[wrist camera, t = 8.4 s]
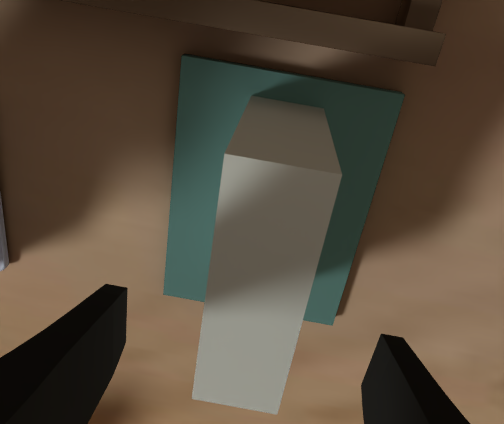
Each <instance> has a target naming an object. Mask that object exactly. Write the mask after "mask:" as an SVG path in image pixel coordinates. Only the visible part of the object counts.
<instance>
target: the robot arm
mask: <svg viewBox="0 0 504 424" xmlns="http://www.w3.org/2000/svg"><path fill="white" fill-rule="evenodd" d="M8 265H9V258H8V250H7V242H6V234H5V226H4V217H3V209H2V201H1V193H0V271H2V270H4V269H5V268H6V267H7V266H8ZM126 318H127V288H126V287H120V286H115V285H109V284H105V285H104V286H102V287H101V288H100V289H98V290H97V291H96V292H94V293H93V294H92V295H90V296H89V297H88V298H86V299H85V300H84V301H82V302H81V303H80V304H79V305H77V306H76V307H75V308H73V309H72V310H71V311H69V312H68V313H67V314H65V315H64V316H62V317H61V318H60V319H58V320H57V321H55V322H54V323H53V324H51V325H50V326H48V327H47V328H46V329H44V330H43V331H41V332H40V333H38V334H37V335H35V336H34V337H32V338H31V339H29V340H28V341H26V342H24V343H23V344H21V345H20V346H18V347H17V348H15V349H14V350H12V351H11V352H9V353H7V354H6V355H4V356H2V357H1V358H0V424H88V422H89V420H90V418H91V416H92V414H93V412H94V410H95V409H96V407H97V405H98V403H99V401H100V399H101V397H102V395H103V394H104V392H105V390H106V388H107V386H108V384H109V382H110V380H111V378H112V376H113V374H114V372H115V369H116V367H117V364H118V362H119V359H120V356H121V354H122V351H123V349H124V346H125V343H126ZM361 390H362V406H363V418H364V424H470V423H469V422H468V421H467V420H466V418H465V417H464V416H463V415H462V414H461V412H460V411H459V410H458V409H457V408H456V406H455V405H454V404H453V403H452V401H451V400H450V399H449V398H448V396H447V395H446V394H445V393H444V391H443V390H442V389H441V387H440V386H439V385H438V384H437V382H436V381H435V380H434V378H433V377H432V376H431V374H430V373H429V372H428V370H427V369H426V368H425V366H424V365H423V364H422V362H421V361H420V360H419V358H418V357H417V356H416V354H415V353H414V352H413V350H412V349H411V348H410V346H409V345H408V344H407V342H406V341H405V340H404V339H403V338H402V337H397V336H391V335H386V334H381V335H380V338H379V340H378V343H377V346H376V348H375V351H374V353H373V356H372V359H371V361H370V364H369V366H368V369H367V372H366V374H365V377H364V379H363V382H362V385H361Z"/></svg>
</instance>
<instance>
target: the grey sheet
mask: <svg viewBox="0 0 504 424" xmlns="http://www.w3.org/2000/svg"><path fill="white" fill-rule="evenodd" d="M341 177H342V172H341V169H340V165H339V161H338V158H337V154H336V151H335V147H334V144H333V140H332V136H331V133H330V129H329V126H328V122H327V118H326V115H325V111H324V108H318V107H313V106H307V105H301V104H296V103H290V102H285V101H279V100H273V99H268V98H262V97H256V96H251V97H250V100H249V102H248V104H247V106H246V108H245V110H244V113H243V115H242V117H241V119H240V121H239V123H238V125H237V128H236V130H235V132H234V134H233V136H232V138H231V140H230V143H229V145H228V147H227V149H226V151H225V153H224V160H223V168H222V175H221V183H220V190H219V198H218V205H217V213H216V220H215V228H214V235H213V243H212V251H211V258H210V266H209V273H208V281H207V288H206V296H205V303H204V311H203V318H202V326H201V333H200V341H199V348H198V356H197V363H196V371H195V378H194V386H193V393H192V399H196V400H201V401H207V402H212V403H218V404H223V405H228V406H234V407H239V408H244V409H250V410H255V411H261V412H266V413H271V414H277V413H278V410H279V406H280V402H281V399H282V395H283V391H284V388H285V384H286V380H287V377H288V373H289V369H290V365H291V362H292V358H293V354H294V351H295V347H296V343H297V340H298V336H299V332H300V329H301V325H302V321H303V318H304V314H305V310H306V306H307V303H308V299H309V295H310V292H311V288H312V284H313V281H314V277H315V273H316V270H317V266H318V262H319V258H320V255H321V251H322V247H323V244H324V240H325V236H326V233H327V229H328V225H329V222H330V218H331V214H332V211H333V207H334V203H335V199H336V196H337V192H338V188H339V185H340V181H341Z"/></svg>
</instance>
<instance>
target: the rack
mask: <svg viewBox="0 0 504 424" xmlns="http://www.w3.org/2000/svg"><path fill="white" fill-rule="evenodd" d="M61 1H67V2H73V3H78V4H84V5H90V6H95V7H101V8H107V9H112V10H118V11H124V12H130V13H135V14H141V15H147V16H152V17H158V18H164V19H169V20H175V21H181V22H186V23H192V24H198V25H203V26H209V27H215V28H220V29H226V30H232V31H237V32H243V33H249V34H254V35H260V36H266V37H271V38H277V39H283V40H288V41H294V42H300V43H305V44H311V45H317V46H322V47H328V48H334V49H339V50H345V51H351V52H356V53H362V54H368V55H374V56H379V57H385V58H391V59H396V60H402V61H408V62H413V63H419V64H425V65H430V66H435V65H436V62H437V60H438V57H439V54H440V51H441V48H442V45H443V42H444V39H445V36H446V34H443V33H438V32H433V28H434V25H435V22H436V19H437V16H438V12H439V9H440V6H441V3H442V0H402V3H401V6H400V10H399V13H398V17H397V20H396V24H390V23H384V22H378V21H373V20H367V19H361V18H355V17H350V16H344V15H338V14H333V13H327V12H321V11H316V10H310V9H304V8H298V7H293V6H287V5H281V4H276V3H270V2H264V1H258V0H61Z"/></svg>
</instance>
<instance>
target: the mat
mask: <svg viewBox="0 0 504 424" xmlns="http://www.w3.org/2000/svg"><path fill="white" fill-rule="evenodd" d="M251 96H256V97H262V98H268V99H273V100H279V101H285V102H290V103H296V104H301V105H307V106H313V107H318V108H324V111H325V115H326V118H327V122H328V126H329V129H330V133H331V136H332V140H333V144H334V147H335V151H336V154H337V158H338V161H339V165H340V169H341V172H342V177H341V181H340V185H339V188H338V192H337V196H336V199H335V203H334V207H333V211H332V214H331V218H330V222H329V225H328V229H327V233H326V236H325V240H324V244H323V247H322V251H321V255H320V258H319V262H318V266H317V270H316V273H315V277H314V281H313V284H312V288H311V292H310V295H309V299H308V303H307V306H306V310H305V314H304V318H303V320H305V321H311V322H316V323H321V324H327V325H332V326H333V322H334V319H335V316H336V313H337V310H338V306H339V303H340V300H341V297H342V294H343V291H344V287H345V284H346V281H347V278H348V275H349V271H350V268H351V265H352V262H353V259H354V256H355V252H356V249H357V246H358V243H359V240H360V236H361V233H362V230H363V227H364V224H365V220H366V217H367V214H368V211H369V208H370V205H371V201H372V198H373V195H374V192H375V189H376V185H377V182H378V179H379V176H380V173H381V170H382V166H383V163H384V160H385V157H386V154H387V150H388V147H389V144H390V141H391V138H392V135H393V131H394V128H395V125H396V122H397V119H398V115H399V112H400V109H401V106H402V103H403V100H404V96H405V95H404V94H403V93H402V92H398V91H393V90H387V89H381V88H376V87H370V86H365V85H359V84H353V83H348V82H342V81H336V80H331V79H325V78H319V77H314V76H308V75H302V74H297V73H291V72H285V71H280V70H274V69H268V68H263V67H257V66H252V65H246V64H240V63H235V62H229V61H223V60H218V59H212V58H206V57H201V56H195V55H189V54H184V55H182V58H181V71H180V84H179V97H178V111H177V124H176V137H175V150H174V163H173V176H172V189H171V202H170V215H169V228H168V241H167V254H166V267H165V280H164V293H163V295H169V296H174V297H180V298H185V299H191V300H196V301H201V302H205V296H206V288H207V281H208V273H209V266H210V258H211V251H212V243H213V235H214V228H215V220H216V213H217V205H218V198H219V190H220V183H221V175H222V168H223V160H224V153H225V151H226V149H227V147H228V145H229V143H230V140H231V138H232V136H233V134H234V132H235V130H236V128H237V125H238V123H239V121H240V119H241V117H242V115H243V113H244V110H245V108H246V106H247V104H248V102H249V100H250V97H251Z"/></svg>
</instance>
